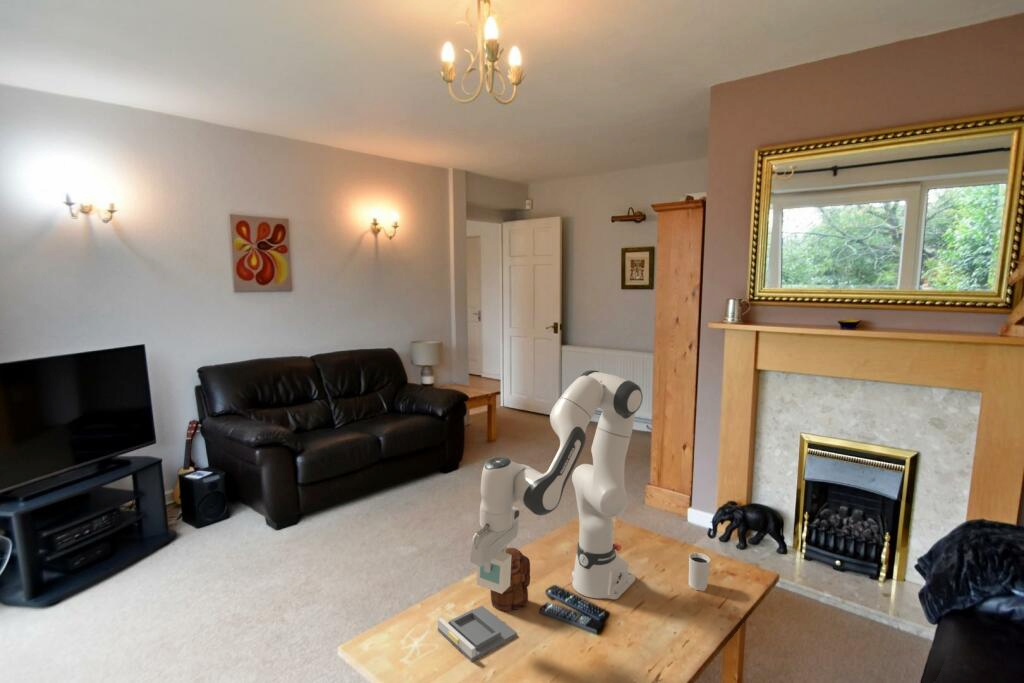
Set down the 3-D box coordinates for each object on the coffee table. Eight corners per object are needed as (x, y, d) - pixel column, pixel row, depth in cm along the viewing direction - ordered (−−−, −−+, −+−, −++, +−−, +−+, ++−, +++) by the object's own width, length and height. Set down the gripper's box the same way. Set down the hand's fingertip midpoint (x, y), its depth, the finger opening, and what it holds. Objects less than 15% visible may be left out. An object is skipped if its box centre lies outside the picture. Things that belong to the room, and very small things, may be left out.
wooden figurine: (495, 614, 157) (496, 558, 155) (489, 602, 163) (490, 547, 161) (531, 607, 161) (533, 551, 159) (524, 595, 167) (525, 541, 165)
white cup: (701, 594, 170) (703, 565, 169) (683, 585, 175) (685, 557, 174) (712, 587, 174) (714, 558, 173) (693, 578, 179) (695, 550, 178)
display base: (482, 608, 160) (482, 597, 160) (516, 635, 148) (517, 624, 148) (436, 631, 149) (436, 619, 149) (470, 662, 137) (470, 650, 137)
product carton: (485, 577, 148) (486, 546, 147) (510, 585, 144) (511, 554, 144) (476, 584, 144) (477, 553, 143) (501, 594, 140) (502, 562, 139)
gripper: (485, 536, 132) (483, 588, 133) (523, 507, 149) (521, 553, 151) (464, 529, 135) (463, 580, 136) (504, 502, 152) (502, 547, 154)
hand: (494, 566), depth 144 cm, fingers closed on product carton, 5 cm apart
